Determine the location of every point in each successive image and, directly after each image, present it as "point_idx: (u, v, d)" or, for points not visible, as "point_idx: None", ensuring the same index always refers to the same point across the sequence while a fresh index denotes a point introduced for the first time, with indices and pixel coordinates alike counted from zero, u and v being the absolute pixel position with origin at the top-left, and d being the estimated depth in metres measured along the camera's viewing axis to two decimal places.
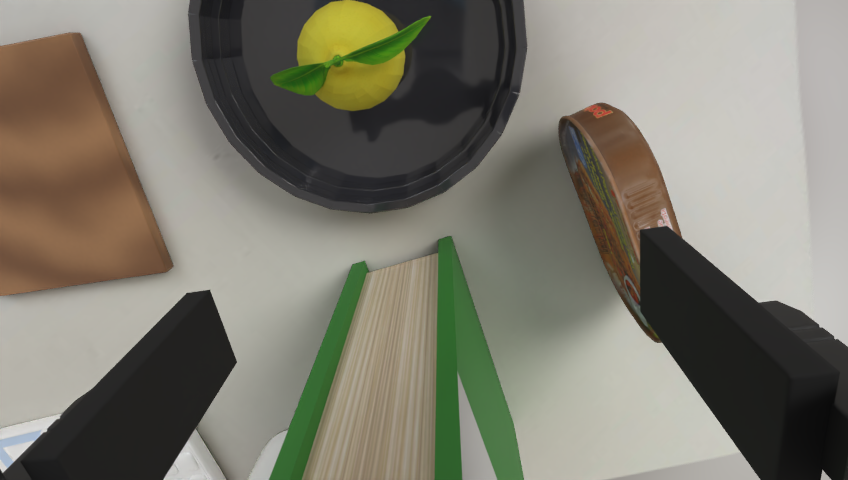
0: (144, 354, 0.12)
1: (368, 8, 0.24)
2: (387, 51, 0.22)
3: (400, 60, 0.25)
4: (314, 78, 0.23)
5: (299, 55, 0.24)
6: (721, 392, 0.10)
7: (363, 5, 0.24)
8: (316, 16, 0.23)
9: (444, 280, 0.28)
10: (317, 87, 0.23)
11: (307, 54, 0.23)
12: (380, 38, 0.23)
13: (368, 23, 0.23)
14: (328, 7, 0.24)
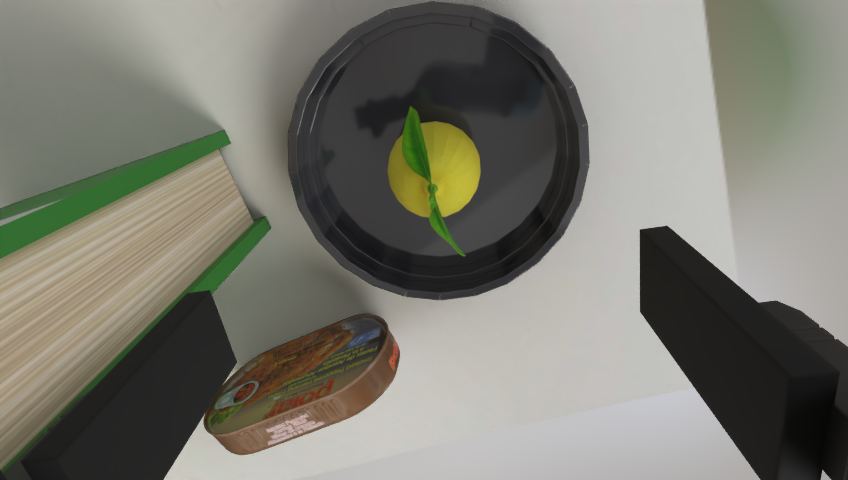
0: (144, 354, 0.12)
1: None
2: (439, 228, 0.26)
3: None
4: (417, 162, 0.26)
5: (436, 140, 0.26)
6: (721, 392, 0.10)
7: None
8: (468, 157, 0.27)
9: (232, 259, 0.29)
10: (409, 163, 0.26)
11: (437, 154, 0.26)
12: (449, 212, 0.28)
13: (461, 203, 0.27)
14: (475, 165, 0.27)
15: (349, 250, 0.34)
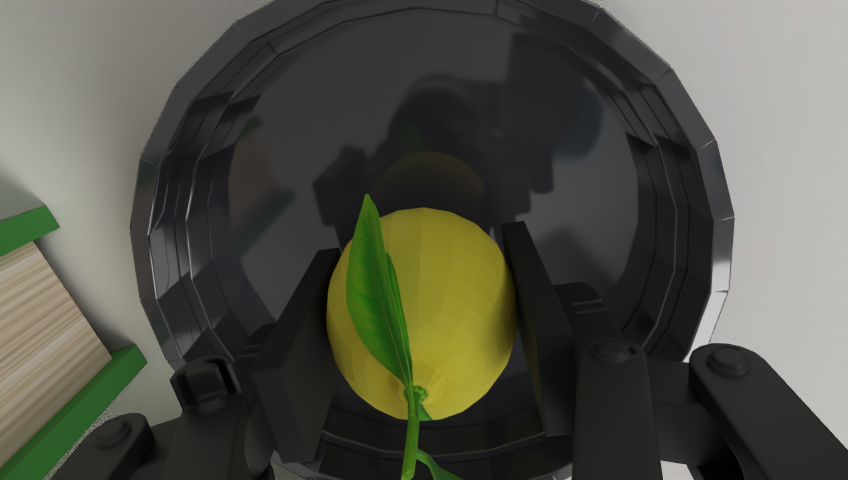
0: (309, 295, 0.14)
1: None
2: None
3: None
4: (380, 331, 0.11)
5: (425, 274, 0.12)
6: (528, 356, 0.13)
7: None
8: (496, 304, 0.12)
9: None
10: (362, 333, 0.11)
11: (427, 311, 0.11)
12: None
13: (480, 397, 0.13)
14: (510, 317, 0.12)
15: None
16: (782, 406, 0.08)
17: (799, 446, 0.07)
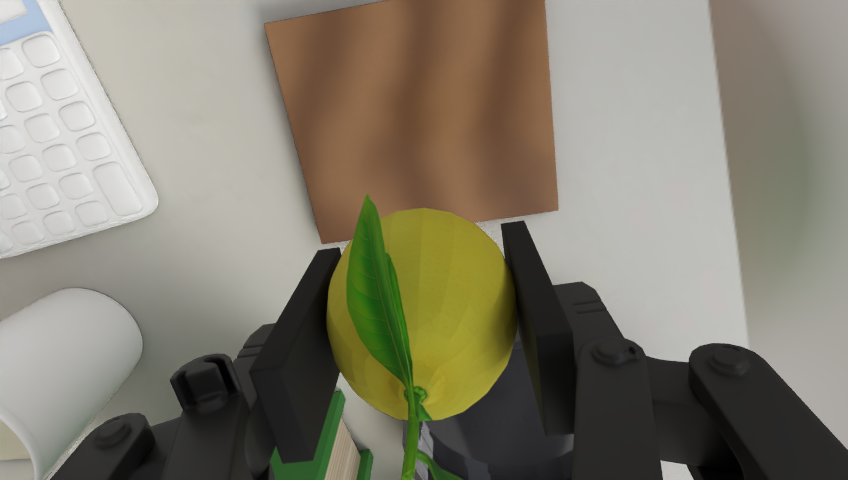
0: (309, 295, 0.14)
1: None
2: None
3: None
4: (380, 332, 0.11)
5: (425, 274, 0.12)
6: (528, 356, 0.13)
7: None
8: (496, 305, 0.12)
9: None
10: (363, 334, 0.11)
11: (427, 311, 0.11)
12: None
13: (480, 398, 0.13)
14: (510, 318, 0.12)
15: None
16: (782, 406, 0.08)
17: (799, 446, 0.07)
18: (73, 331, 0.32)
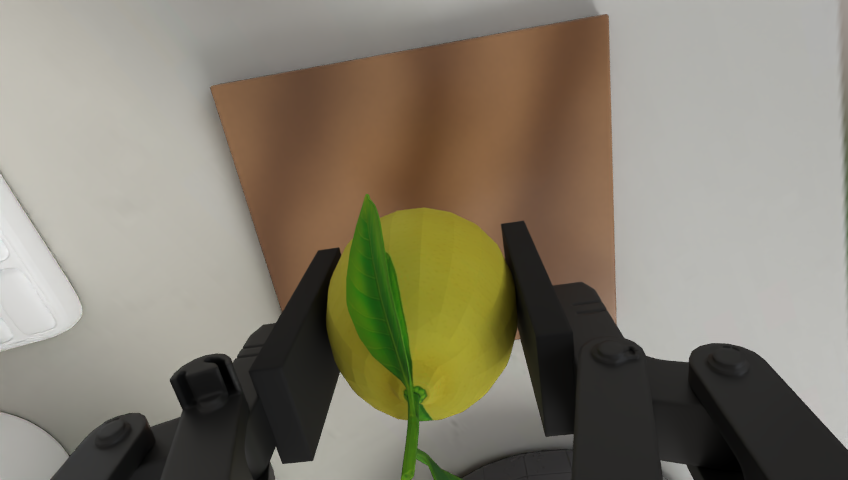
0: (309, 295, 0.14)
1: None
2: None
3: None
4: (380, 331, 0.11)
5: (425, 274, 0.11)
6: (529, 356, 0.13)
7: None
8: (496, 304, 0.12)
9: None
10: (362, 333, 0.11)
11: (428, 311, 0.11)
12: None
13: None
14: (510, 317, 0.12)
15: None
16: (781, 406, 0.08)
17: (799, 446, 0.07)
18: None
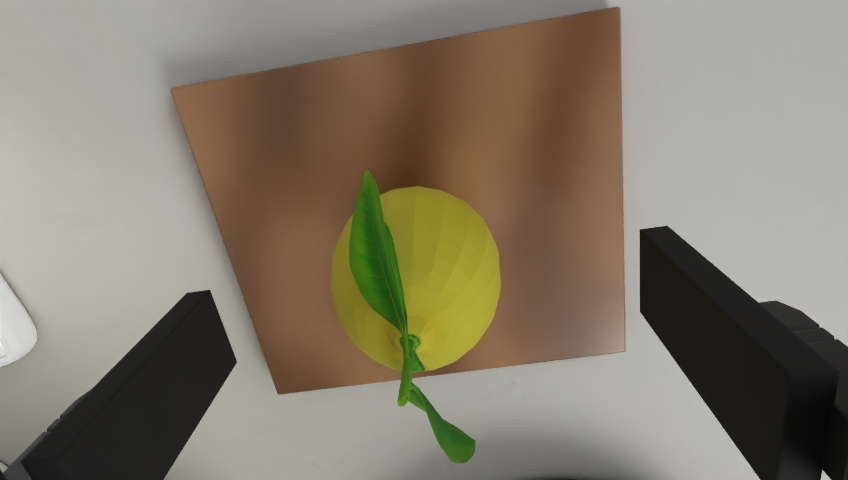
0: (144, 354, 0.12)
1: None
2: (426, 410, 0.13)
3: None
4: (378, 287, 0.13)
5: (418, 239, 0.13)
6: (721, 392, 0.10)
7: (492, 318, 0.15)
8: (481, 267, 0.14)
9: None
10: (363, 290, 0.13)
11: (420, 270, 0.13)
12: (444, 365, 0.15)
13: (467, 351, 0.14)
14: (493, 279, 0.14)
15: None
16: None
17: None
18: None
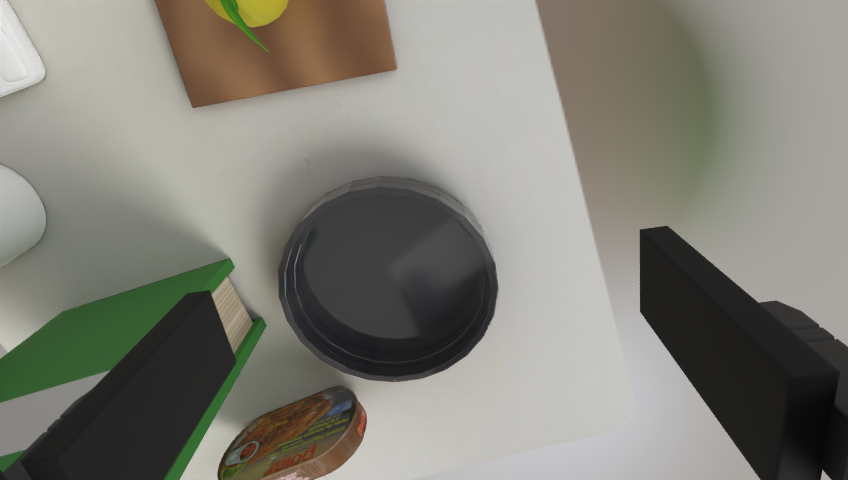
0: (144, 354, 0.12)
1: None
2: (234, 16, 0.28)
3: None
4: None
5: None
6: (721, 392, 0.10)
7: None
8: None
9: (239, 364, 0.40)
10: None
11: None
12: (250, 8, 0.29)
13: None
14: None
15: (326, 345, 0.45)
16: None
17: None
18: None
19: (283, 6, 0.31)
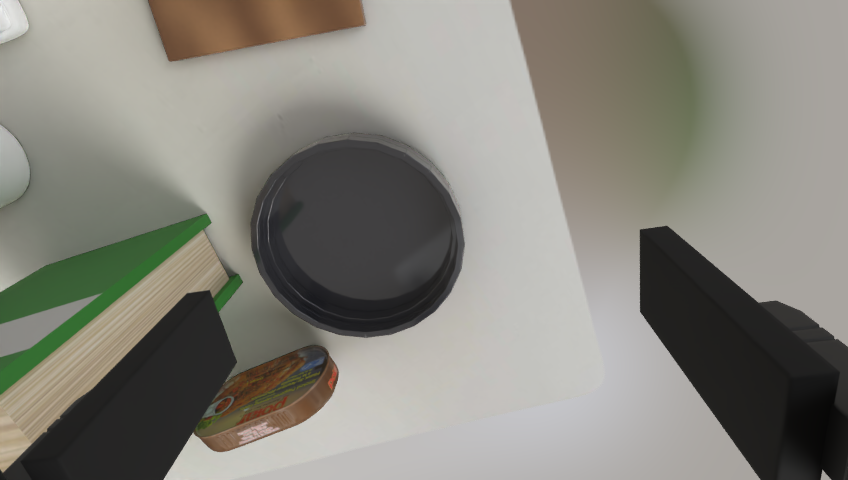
0: (144, 354, 0.12)
1: None
2: None
3: None
4: None
5: None
6: (722, 392, 0.10)
7: None
8: None
9: None
10: None
11: None
12: None
13: None
14: None
15: (299, 300, 0.46)
16: None
17: None
18: None
19: None
